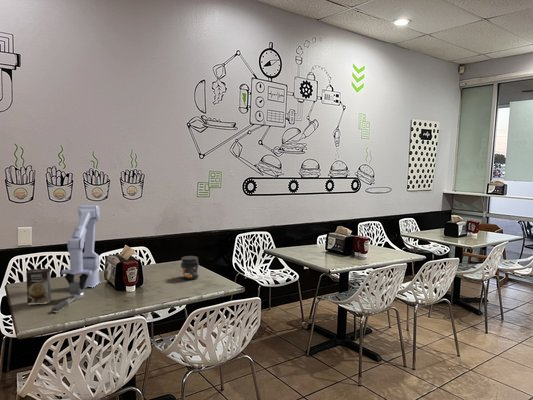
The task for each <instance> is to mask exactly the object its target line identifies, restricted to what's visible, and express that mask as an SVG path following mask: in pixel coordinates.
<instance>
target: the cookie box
mask: <svg viewBox="0 0 533 400" xmlns="http://www.w3.org/2000/svg"><path fill="white" fill-rule="evenodd" d="M25 274H26V275H25V276H26V295H27V296H26V297H27V298H26V299H27V303H44V302H49V300H50V299H51V300H52V291H51V268H35V269H33V268H31V269H29V270H27V271H26V272H25ZM49 303H50V302H49Z"/></svg>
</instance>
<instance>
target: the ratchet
mask: <svg viewBox="0 0 533 400" xmlns="http://www.w3.org/2000/svg"><path fill="white" fill-rule="evenodd" d="M82 297H84V298H85V292H83V293H82V294H80V295H72V294H70V296H69V298H67V299H65V300H62V301H60V302H59V303H57V304H56V305H54V306H53V307H51V312H52V311H59V310H60V309H62V308H63V307H65V306H66V305H68V303H70V302H72V301H73V300H75V299H77V298H82ZM82 299H83V298H82ZM75 301H76V300H75ZM72 303H73V302H72ZM68 306H69V305H68Z"/></svg>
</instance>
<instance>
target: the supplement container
mask: <svg viewBox="0 0 533 400" xmlns="http://www.w3.org/2000/svg"><path fill="white" fill-rule="evenodd" d="M180 260H181V262H180V278H181V279H182V280H186V281H193V280H197V279H198V278H199V277H200V275H199V272H200V271H199V265H200V263H199V257H198V256H195V255H186V256H183V257H181V258H180Z"/></svg>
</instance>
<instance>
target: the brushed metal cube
mask: <svg viewBox="0 0 533 400" xmlns="http://www.w3.org/2000/svg"><path fill="white" fill-rule="evenodd" d="M68 286H69V295H71V294H72V295H80V294H82V293H83V292H84V293H85V291H86V290H85V289H86V288H85V287H84V289H81V283H80V279H74V280H73V281H71V282H69V283H68Z"/></svg>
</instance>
